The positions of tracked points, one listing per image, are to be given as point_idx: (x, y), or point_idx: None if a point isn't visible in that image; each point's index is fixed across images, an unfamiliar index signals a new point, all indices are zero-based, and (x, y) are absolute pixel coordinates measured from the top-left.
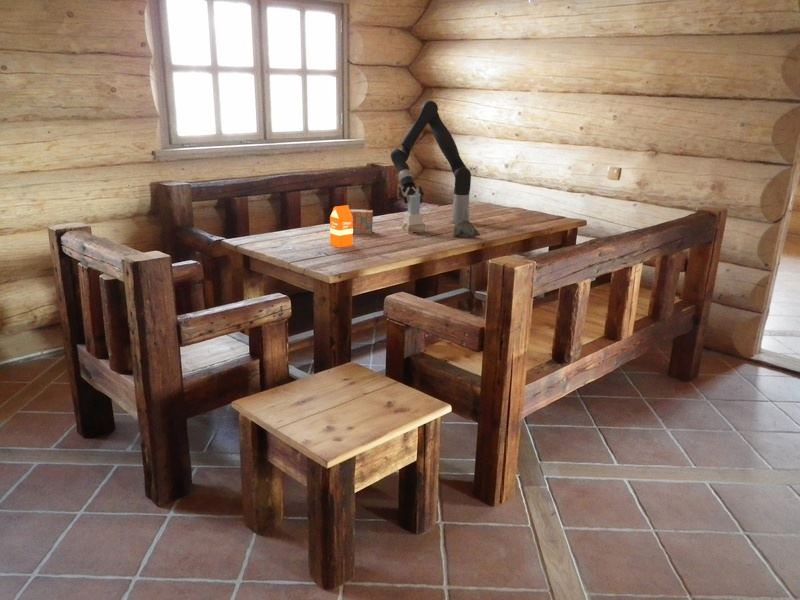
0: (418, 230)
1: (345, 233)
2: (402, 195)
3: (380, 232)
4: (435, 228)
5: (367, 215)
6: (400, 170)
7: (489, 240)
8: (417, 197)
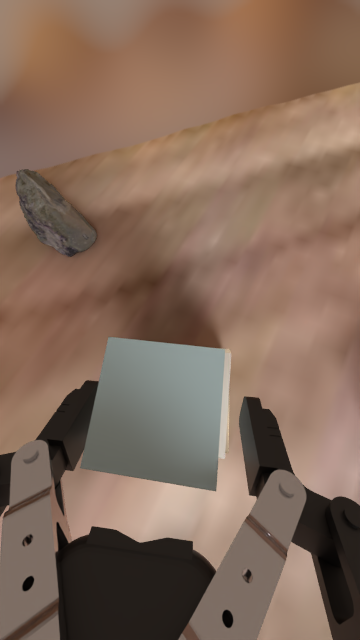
0: None
1: None
2: (318, 518)
3: (347, 422)
4: (62, 398)
5: None
6: None
7: None
8: (146, 342)
